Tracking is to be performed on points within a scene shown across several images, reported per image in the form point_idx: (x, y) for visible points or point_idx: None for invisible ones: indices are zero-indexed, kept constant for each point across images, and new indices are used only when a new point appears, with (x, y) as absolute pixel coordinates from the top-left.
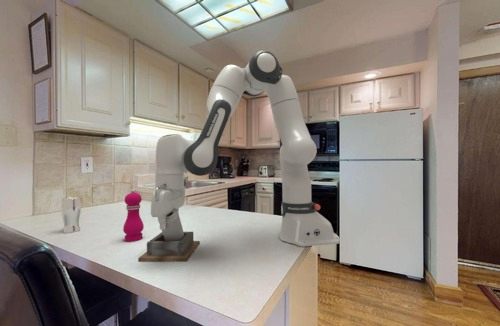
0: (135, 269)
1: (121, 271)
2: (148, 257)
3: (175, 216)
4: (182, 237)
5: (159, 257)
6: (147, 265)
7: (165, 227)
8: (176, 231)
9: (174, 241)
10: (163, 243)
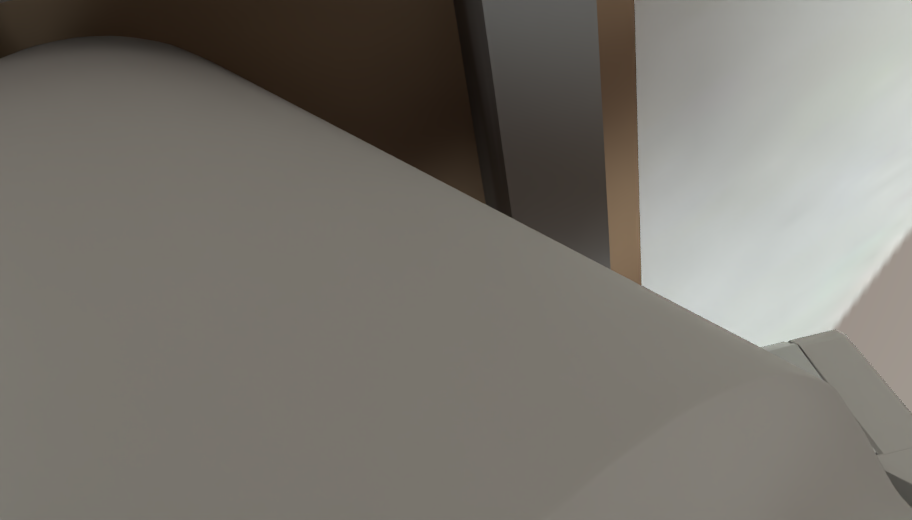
0: (824, 208)
1: (851, 300)
2: (618, 248)
3: (755, 499)
4: (95, 43)
5: (612, 111)
6: (732, 151)
7: (858, 351)
8: (377, 153)
9: (509, 27)
10: (603, 192)
